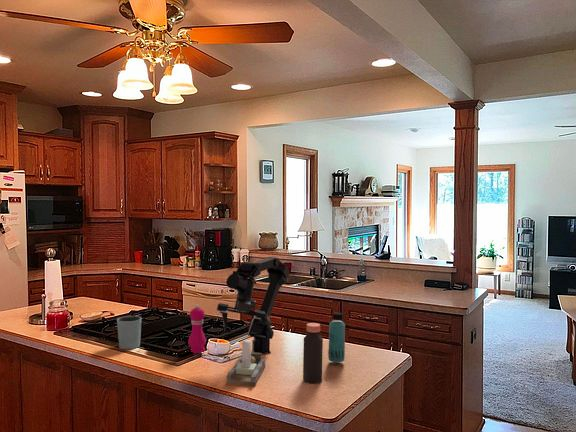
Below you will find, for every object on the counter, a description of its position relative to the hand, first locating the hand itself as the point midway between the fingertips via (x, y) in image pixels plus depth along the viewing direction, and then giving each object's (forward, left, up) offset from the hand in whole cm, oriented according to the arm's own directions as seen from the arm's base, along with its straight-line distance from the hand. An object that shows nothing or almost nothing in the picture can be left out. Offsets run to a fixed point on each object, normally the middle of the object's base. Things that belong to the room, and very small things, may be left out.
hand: (236, 334), depth 185 cm
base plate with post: (-2, +11, -12) cm, 17 cm away
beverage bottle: (-38, +7, -12) cm, 41 cm away
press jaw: (-1, +12, -10) cm, 16 cm away
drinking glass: (+40, -35, -12) cm, 54 cm away
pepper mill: (+13, -20, -12) cm, 27 cm away
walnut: (-4, +6, -11) cm, 13 cm away
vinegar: (-23, +21, -12) cm, 34 cm away
